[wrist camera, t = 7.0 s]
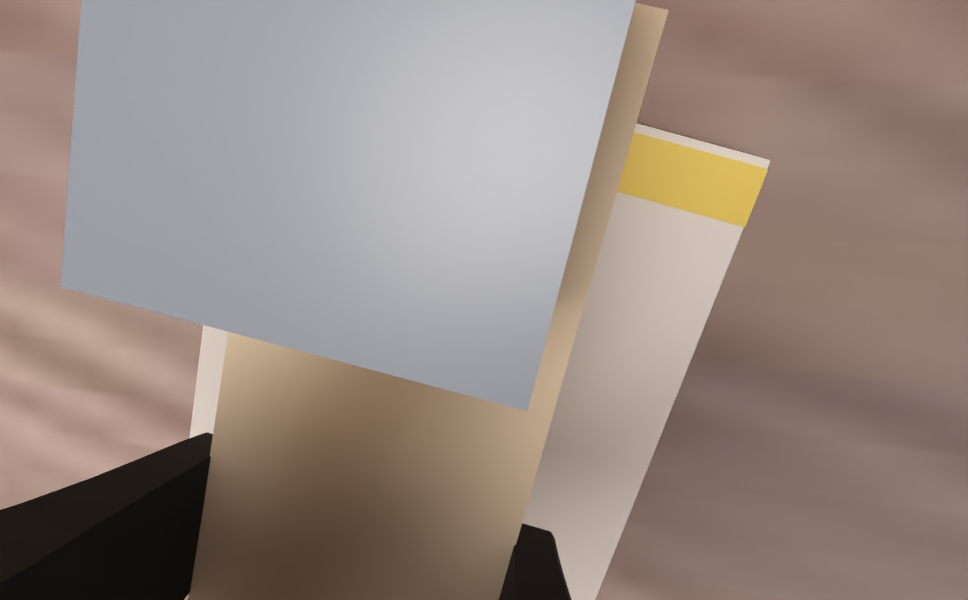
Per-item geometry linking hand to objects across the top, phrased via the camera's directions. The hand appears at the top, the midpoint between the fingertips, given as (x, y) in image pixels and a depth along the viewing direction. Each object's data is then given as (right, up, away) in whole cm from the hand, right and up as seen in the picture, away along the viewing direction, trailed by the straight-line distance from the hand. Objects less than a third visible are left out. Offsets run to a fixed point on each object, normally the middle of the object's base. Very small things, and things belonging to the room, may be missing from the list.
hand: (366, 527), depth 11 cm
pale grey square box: (+1, +6, -3) cm, 7 cm away
